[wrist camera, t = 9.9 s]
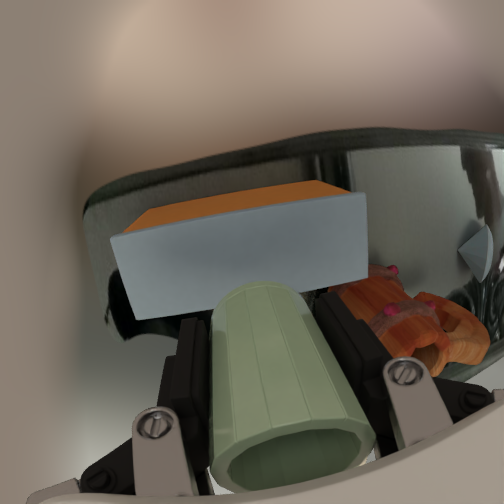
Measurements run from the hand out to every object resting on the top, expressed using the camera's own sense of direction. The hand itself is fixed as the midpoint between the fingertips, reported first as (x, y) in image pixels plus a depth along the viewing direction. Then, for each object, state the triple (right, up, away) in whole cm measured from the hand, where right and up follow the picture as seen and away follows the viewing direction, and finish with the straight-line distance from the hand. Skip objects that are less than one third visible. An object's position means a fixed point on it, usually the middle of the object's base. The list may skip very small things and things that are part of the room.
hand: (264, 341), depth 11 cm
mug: (+13, -1, +21) cm, 25 cm away
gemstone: (+29, +4, +22) cm, 36 cm away
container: (-2, +6, +17) cm, 18 cm away
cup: (0, 0, +1) cm, 1 cm away
